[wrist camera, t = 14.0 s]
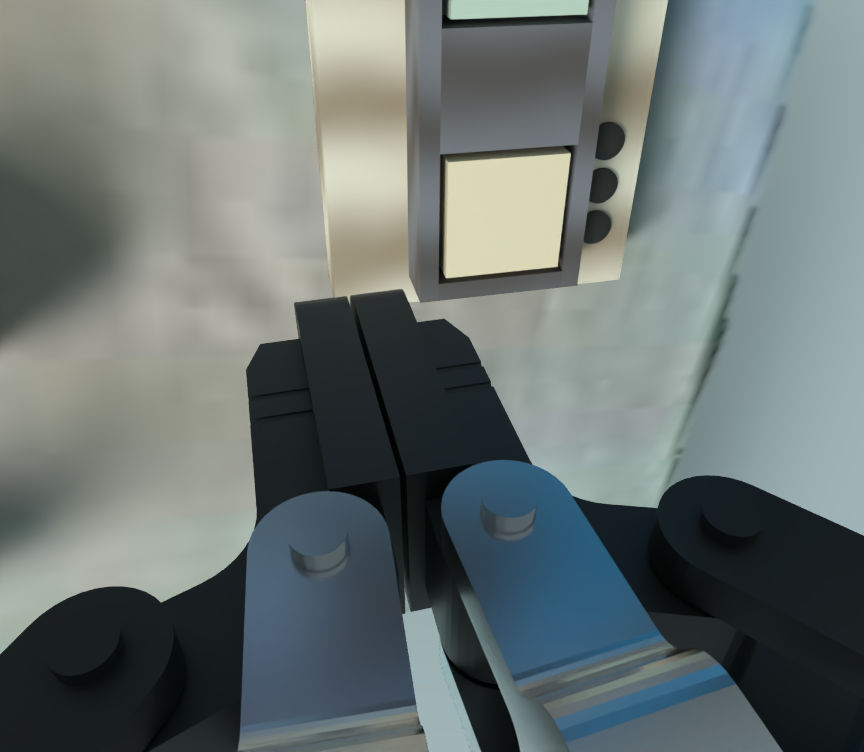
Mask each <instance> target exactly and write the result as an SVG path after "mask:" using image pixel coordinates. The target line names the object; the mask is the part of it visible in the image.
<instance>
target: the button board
mask: <svg viewBox="0 0 864 752" xmlns="http://www.w3.org/2000/svg"><path fill="white" fill-rule="evenodd" d="M305 1H306V13H307V24H308V36H309V48H310V59H311V71H312V83H313V95H314V106H315V118H316V130H317V141H318V153H319V165H320V176H321V188H322V200H323V211H324V223H325V235H326V247H327V258H328V270H329V280H330V285H331V289H332V293H333V297H334V298H335V297H342V296H347V298H348V301H349V304H350V296H351V295H357V294H364V293H372V292H380V291H388V290H396V289H403V291H404V292H405V294H406V297H407V299H408V302H417V301H420V303H422V302H431V301H440V300H449V299H458V298H467V297H477V296H486V295H495V294H504V293H513V292H522V291H531V290H541V289H550V288H559V287H568V286H577V284H582V283H592V282H601V281H610V280H619V278H620V272H621V266H622V260H623V255H624V249H625V243H626V238H627V232H628V226H629V220H630V215H631V209H632V203H633V198H634V192H635V186H636V180H637V175H638V169H639V163H640V157H641V152H642V146H643V140H644V135H645V129H646V123H647V117H648V112H649V106H650V100H651V95H652V89H653V83H654V77H655V72H656V66H657V60H658V55H659V49H660V43H661V37H662V32H663V26H664V20H665V15H666V9H667V3H668V0H589V3H588V12H587V14H586V15H559V16H532V17H505V18H478V19H450V18H448V17H447V16H446V15H444V14H443V13H442V0H305ZM551 146H563V147H564V148H565V149H567V150H568V151H569V152H570V153H571V157H570V165H569V174H568V182H567V190H566V199H565V207H564V216H563V224H562V233H561V241H560V250H559V258H558V267H551V268H541V269H531V270H522V271H512V272H502V273H493V274H483V275H474V276H464V277H454V278H446V277H445V275H444V273H443V271H442V269H441V268H440V266H439V206H440V154H453V153H467V152H481V151H495V150H509V149H523V148H537V147H551Z"/></svg>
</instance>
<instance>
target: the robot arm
mask: <svg viewBox="0 0 864 752" xmlns="http://www.w3.org/2000/svg"><path fill="white" fill-rule="evenodd" d="M294 307H295V315H296V322H297V330H298V337H299V339H295V340H287V341H280V342H273V343H265V344H260V346H259V348H258V349H257V351H256V353H255V355H254V357H253V358H252V360H251V362H250V364H249V366H248V367H247V369H246V373H247V387H248V398H249V413H250V422H251V425H250V426H251V440H252V453H253V466H254V479H255V493H256V506H257V520H256V524H255V528H254V531H253V533H252V535H251V538H250V540H249V542H248V543H247V545H246V547H245V548H244V550H243V551H242V552H241V553H240V554H239V556H238V557H237V558H236V559H235V560H234V561H233V562H232V563H231V564H230V565H228V566H227V567H226V568H225V569H224V570H222V571H221V572H219V573H218V574H217V575H215V576H214V577H212V578H210V579H208V580H207V581H205V582H203V583H201V584H199V585H197V586H195V587H193V588H191V589H189V590H187V591H185V592H182V593H180V594H178V595H176V596H174V597H172V598H170V599H168V600H166V601H164V602H162V603H161V602H160V601H159V600H157V599H156V598H155V597H154V596H152V595H150V594H148V593H147V592H144V591H141V590H138V589H135V588H129V587H104V588H97V589H93V590H89V591H86V592H82V593H79V594H77V595H75V596H72V597H70V598H67V599H66V600H64V601H62V602H60V603H58V604H57V605H55V606H53V607H52V608H50V609H49V610H47V611H46V612H45V613H43V614H42V615H41V616H39V617H38V618H37V619H36V620H35V621H34V622H33V623H32V624H30V625H29V626H28V627H27V628H26V629H25V630H24V631H23V632H22V633H21V634H20V635H19V636H18V637H17V638H16V639H15V640H14V641H13V642H12V643H11V644H10V645H9V646H8V647H7V648H6V649H5V650H4V651H3V652H2V653H1V654H0V752H429V751H428V746H427V742H426V737H425V733H424V729H423V727H422V726H421V725H420V722H419V717H418V712H417V706H416V700H415V694H414V688H413V681H412V675H411V669H410V662H409V655H408V649H407V642H406V636H405V630H404V624H403V617H402V614H405V593H404V588H405V592H406V596H407V600H408V603H409V607H410V611H411V612H412V611H417V610H422V609H426V608H431V607H432V611H433V614H434V618H435V621H436V625H437V628H438V632H439V635H440V665H441V669H442V672H443V675H444V678H445V681H446V684H447V686H448V689H449V692H450V695H451V697H452V700H453V703H454V706H455V709H456V711H457V714H458V717H459V719H460V722H461V725H462V728H463V731H464V733H465V736H466V739H467V741H468V745H469V747H470V750H471V752H864V536H863V535H861V534H858V533H856V532H854V531H852V530H850V529H848V528H845V527H843V526H841V525H839V524H837V523H834V522H832V521H830V520H828V519H826V518H823V517H821V516H819V515H816V514H814V513H812V512H810V511H808V510H805V509H803V508H801V507H799V506H797V505H795V504H792V503H790V502H788V501H786V500H784V499H781V498H779V497H777V496H775V495H773V494H770V493H768V492H766V491H764V490H761V489H759V488H757V487H755V486H753V485H750V484H747V483H745V482H742V481H739V480H735V479H732V478H727V477H721V476H695V477H691V478H687V479H684V480H681V481H679V482H677V483H675V484H674V485H672V486H671V487H669V489H668V490H667V491H666V492H665V493H664V494H663V496H662V498H661V500H660V502H659V505H658V508H648V507H636V506H623V505H611V504H602V503H594V502H590V501H586V500H582V499H579V498H577V497H574V496H572V495H571V494H570V492H569V491H568V489H567V488H566V487H565V486H564V484H563V483H562V482H560V481H559V480H558V479H557V478H556V477H555V476H553V475H552V474H550V473H549V472H547V471H545V470H543V469H541V468H539V467H537V466H534V465H532V463H531V461H530V460H529V458H528V456H527V454H526V452H525V450H524V448H523V446H522V444H521V441H520V439H519V437H518V435H517V433H516V431H515V429H514V427H513V425H512V423H511V421H510V419H509V417H508V415H507V413H506V411H505V409H504V407H503V405H502V403H501V401H500V399H499V397H498V395H497V393H496V391H495V389H494V387H491V381H490V379H489V377H488V375H487V373H486V371H485V369H484V367H483V366H481V361H480V359H479V357H478V355H477V353H476V351H475V349H474V347H473V345H472V343H471V341H470V339H469V337H467V336H466V335H465V334H464V333H462V332H461V331H460V330H458V329H457V328H456V327H454V326H453V325H452V324H450V323H449V322H448V321H446V320H445V319H439V320H431V321H424V322H417V321H416V319H415V316H414V314H413V311H412V309H411V307H410V304H409V302H408V299H407V297H406V294H405V292H404V291H403V289H396V290H388V291H380V292H372V293H364V294H357V295H351V296H350V304H349V301H348V298H347V296H342V297H335V298H327V299H319V300H311V301H303V302H296V303H294Z"/></svg>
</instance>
